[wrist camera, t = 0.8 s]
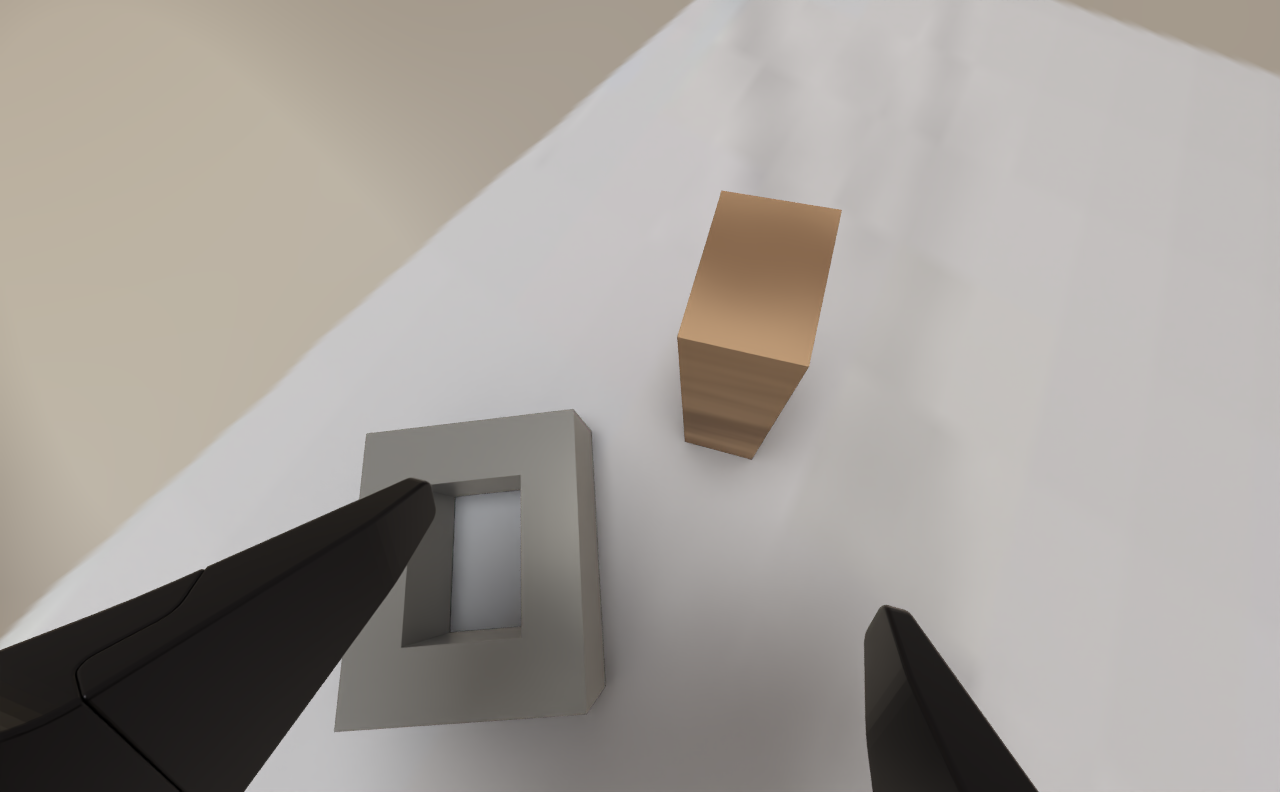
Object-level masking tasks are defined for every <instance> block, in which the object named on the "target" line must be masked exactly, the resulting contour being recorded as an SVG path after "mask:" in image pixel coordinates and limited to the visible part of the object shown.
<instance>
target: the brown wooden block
mask: <svg viewBox="0 0 1280 792" xmlns="http://www.w3.org/2000/svg"><path fill="white" fill-rule="evenodd" d="M841 211H842V210H838V209H832V208H826V207H820V206H813V205H807V204H801V203H795V202H789V201H782V200H776V199H770V198H764V197H758V196H751V195H745V194H739V193H733V192H727V191H721V194H720V198H719V201H718V204H717V208H716V211H715V214H714V218H713V221H712V224H711V227H710V231H709V234H708V237H707V241H706V244H705V247H704V251H703V254H702V257H701V260H700V264H699V267H698V270H697V274H696V277H695V280H694V284H693V287H692V290H691V293H690V297H689V300H688V303H687V307H686V310H685V313H684V317H683V320H682V323H681V327H680V330H679V333H678V336H677V340H678V353H679V367H680V381H681V394H682V408H683V422H684V436H685V442H688V443H692V444H696V445H699V446H703V447H707V448H711V449H714V450H718V451H722V452H726V453H729V454H733V455H737V456H740V457H744V458H748V459H752V458H753V456H754V455H755V453H756V452H757V450H758V448H759V447H760V445H761V443H762V442H763V440H764V439H765V437H766V435H767V434H768V432H769V431H770V429H771V427H772V426H773V424H774V422H775V421H776V419H777V418H778V416H779V414H780V413H781V411H782V409H783V408H784V406H785V405H786V403H787V401H788V400H789V398H790V397H791V395H792V393H793V392H794V390H795V388H796V387H797V385H798V384H799V382H800V380H801V379H802V377H803V375H804V374H805V372H806V371H807V369H808V367H809V364H810V359H811V354H812V349H813V345H814V340H815V335H816V330H817V326H818V321H819V316H820V311H821V307H822V302H823V297H824V292H825V288H826V283H827V278H828V273H829V268H830V264H831V259H832V254H833V249H834V245H835V240H836V235H837V230H838V226H839V221H840V216H841Z"/></svg>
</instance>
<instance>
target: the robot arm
mask: <svg viewBox="0 0 1280 792" xmlns="http://www.w3.org/2000/svg"><path fill="white" fill-rule="evenodd" d="M435 514H436V506H435V501H434V496H433V491H432V486H431V484H430V483H429V482H428V481H426V480H422V479H418V478H414V477H410V478H407V479H404V480H402V481H400V482H398V483H395V484H393V485H391V486H389V487H386V488H384V489H382V490H380V491H377V492H375V493H373V494H370V495H368V496H366V497H364V498H361V499H359V500H357V501H355V502H352V503H350V504H348V505H346V506H343V507H341V508H339V509H337V510H334V511H332V512H330V513H328V514H325V515H323V516H321V517H318V518H316V519H314V520H312V521H309V522H307V523H305V524H303V525H300V526H298V527H296V528H294V529H291V530H289V531H287V532H285V533H282V534H280V535H278V536H276V537H273V538H271V539H269V540H267V541H264V542H262V543H260V544H257V545H255V546H253V547H251V548H248V549H246V550H244V551H242V552H239V553H237V554H235V555H233V556H230V557H228V558H226V559H224V560H221V561H219V562H217V563H214V564H212V565H210V566H208V567H207V568H206V569H205V570H204V569H201V570H198V571H196V572H194V573H192V574H189V575H187V576H185V577H183V578H180V579H178V580H176V581H173V582H171V583H169V584H166V585H164V586H162V587H159V588H157V589H155V590H152V591H150V592H148V593H145V594H143V595H141V596H138V597H136V598H133V599H131V600H128V601H126V602H123V603H121V604H118V605H116V606H113V607H111V608H108V609H106V610H103V611H101V612H98V613H96V614H93V615H91V616H88V617H85V618H83V619H80V620H78V621H75V622H72V623H70V624H67V625H65V626H62V627H59V628H57V629H54V630H52V631H49V632H46V633H44V634H41V635H39V636H36V637H33V638H31V639H28V640H25V641H23V642H20V643H18V644H15V645H12V646H10V647H7V648H5V649H2V650H0V792H244V791H245V790H246V788H247V787H248V786H249V784H250V783H251V782H252V780H253V779H254V777H255V776H256V775H257V773H258V772H259V771H260V769H261V768H262V767H263V765H264V764H265V762H266V761H267V760H268V758H269V757H270V756H271V754H272V753H273V751H274V750H275V749H276V747H277V746H278V745H279V743H280V742H281V740H282V739H283V738H284V736H285V735H286V734H287V732H288V731H289V730H290V728H291V727H292V725H293V724H294V723H295V721H296V720H297V719H298V717H299V716H300V714H301V713H302V712H303V710H304V709H305V708H306V706H307V705H308V703H309V702H310V701H311V699H312V698H313V697H314V695H315V694H316V693H317V691H318V690H319V688H320V687H321V686H322V684H323V683H324V682H325V680H326V679H327V677H328V676H329V675H330V673H331V672H332V671H333V669H334V668H335V667H336V665H337V664H338V662H339V661H340V660H341V658H342V657H343V656H344V654H345V653H346V651H347V650H348V649H349V647H350V646H351V645H352V643H353V642H354V640H355V639H356V638H357V636H358V635H359V634H360V632H361V631H362V630H363V628H364V627H365V625H366V624H367V623H368V621H369V620H370V619H371V617H372V616H373V614H374V613H375V612H376V610H377V609H378V608H379V606H380V605H381V604H382V602H383V601H384V599H385V598H386V597H387V595H388V594H389V592H390V591H391V590H392V588H393V587H394V585H395V584H396V582H397V581H398V579H399V577H400V576H401V574H402V573H403V571H404V569H405V568H406V566H407V564H408V562H409V561H410V559H411V557H412V556H413V554H414V552H415V551H416V549H417V547H418V546H419V544H420V542H421V540H422V539H423V537H424V535H425V534H426V532H427V530H428V529H429V527H430V525H431V524H432V522H433V520H434V518H435ZM864 667H865V721H866V739H867V749H868V758H869V766H870V773H871V781H872V789H873V792H1038V790H1037V789H1036V788H1035V786H1034V785H1033V783H1032V782H1031V781H1030V779H1029V778H1028V776H1027V775H1026V774H1025V772H1024V771H1023V769H1022V768H1021V767H1020V765H1019V764H1018V762H1017V761H1016V760H1015V758H1014V757H1013V756H1012V754H1011V753H1010V751H1009V750H1008V749H1007V747H1006V746H1005V744H1004V743H1003V742H1002V740H1001V739H1000V737H999V736H998V735H997V733H996V732H995V730H994V729H993V728H992V726H991V725H990V723H989V722H988V721H987V719H986V718H985V717H984V715H983V714H982V712H981V711H980V710H979V708H978V707H977V705H976V704H975V703H974V701H973V700H972V698H971V697H970V696H969V694H968V693H967V691H966V690H965V689H964V687H963V686H962V684H961V683H960V682H959V680H958V679H957V677H956V676H955V675H954V673H953V672H952V671H951V669H950V668H949V666H948V665H947V664H946V662H945V661H944V659H943V658H942V657H941V655H940V654H939V652H938V651H937V650H936V648H935V647H934V645H933V644H932V643H931V641H930V640H929V638H928V637H927V636H926V634H925V633H924V631H923V630H922V629H921V627H920V626H919V625H918V623H917V622H916V620H915V619H914V618H913V616H912V615H911V614H910V613H909V612H908V611H906V610H903V609H900V608H896V607H892V606H889V605H883V606H881V607H880V608H879V610H878V612H877V613H876V615H875V617H874V619H873V620H872V622H871V624H870V625H869V627H868V629H867V631H866V634H865V639H864Z"/></svg>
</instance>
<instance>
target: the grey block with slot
mask: <svg viewBox="0 0 1280 792" xmlns="http://www.w3.org/2000/svg"><path fill="white" fill-rule="evenodd" d="M410 477H414V478H418V479H422V480H426V481H428V482H429V483H430V484H431V486H432V491H433V496H434V501H435V506H436V514H435V518H434V520H433V522H432V524H431V525H430V527H429V529H428V530H427V532H426V534H425V535H424V537H423V539H422V540H421V542H420V544H419V546H418V547H417V549H416V551H415V552H414V554H413V556H412V557H411V559H410V561H409V562H408V564H407V566H406V568H405V569H404V571H403V573H402V574H401V576H400V577H399V579H398V581H397V582H396V584H395V585H394V587H393V588H392V590H391V591H390V592H389V594H388V595H387V597H386V598H385V599H384V601H383V602H382V604H381V605H380V606H379V608H378V609H377V610H376V612H375V613H374V614H373V616H372V617H371V619H370V620H369V621H368V623H367V624H366V625H365V627H364V628H363V630H362V631H361V632H360V634H359V635H358V636H357V638H356V639H355V640H354V642H353V643H352V645H351V646H350V647H349V649H348V650H347V651H346V653H345V654H344V656H343V657H342V663H341V673H340V682H339V691H338V700H337V710H336V719H335V728H334V732H342V731H356V730H370V729H384V728H399V727H413V726H427V725H441V724H455V723H469V722H484V721H498V720H512V719H526V718H540V717H555V716H569V715H583V714H587V713H588V712H589V710H590V708H591V707H592V705H593V704H594V702H595V701H596V699H597V698H598V696H599V695H600V693H601V692H602V690H603V689H604V687H605V686H606V685H605V667H604V649H603V632H602V614H601V596H600V578H599V560H598V542H597V525H596V507H595V489H594V471H593V453H592V435H591V430H590V429H589V428H588V426H587V425H586V424H585V423H584V421H583V420H582V419H581V418H580V417H579V415H578V414H577V413H576V412H575V411H574V409H570V410H562V411H553V412H545V413H536V414H528V415H520V416H511V417H503V418H494V419H486V420H477V421H469V422H460V423H452V424H444V425H435V426H427V427H418V428H410V429H401V430H393V431H385V432H376V433H368V434H366V441H365V450H364V459H363V469H362V478H361V487H360V497H359V499H361V498H364V497H366V496H368V495H370V494H373V493H375V492H377V491H380V490H382V489H384V488H386V487H389V486H391V485H393V484H395V483H398V482H400V481H402V480H404V479H407V478H410ZM514 490H521V626H518V627H506V628H495V629H483V630H471V631H459V632H450V610H451V585H452V561H453V537H454V513H455V497H458V496H467V495H477V494H486V493H496V492H505V491H514Z"/></svg>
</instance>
